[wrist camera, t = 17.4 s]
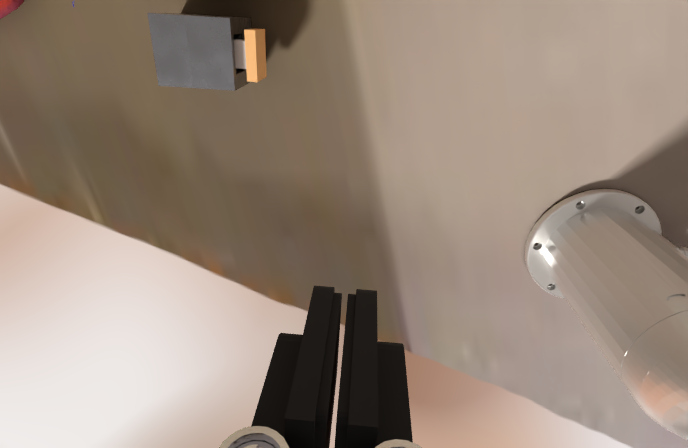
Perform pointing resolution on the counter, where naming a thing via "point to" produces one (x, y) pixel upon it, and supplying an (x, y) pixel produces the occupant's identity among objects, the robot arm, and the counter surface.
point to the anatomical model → (9, 6)
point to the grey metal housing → (197, 50)
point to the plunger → (251, 54)
